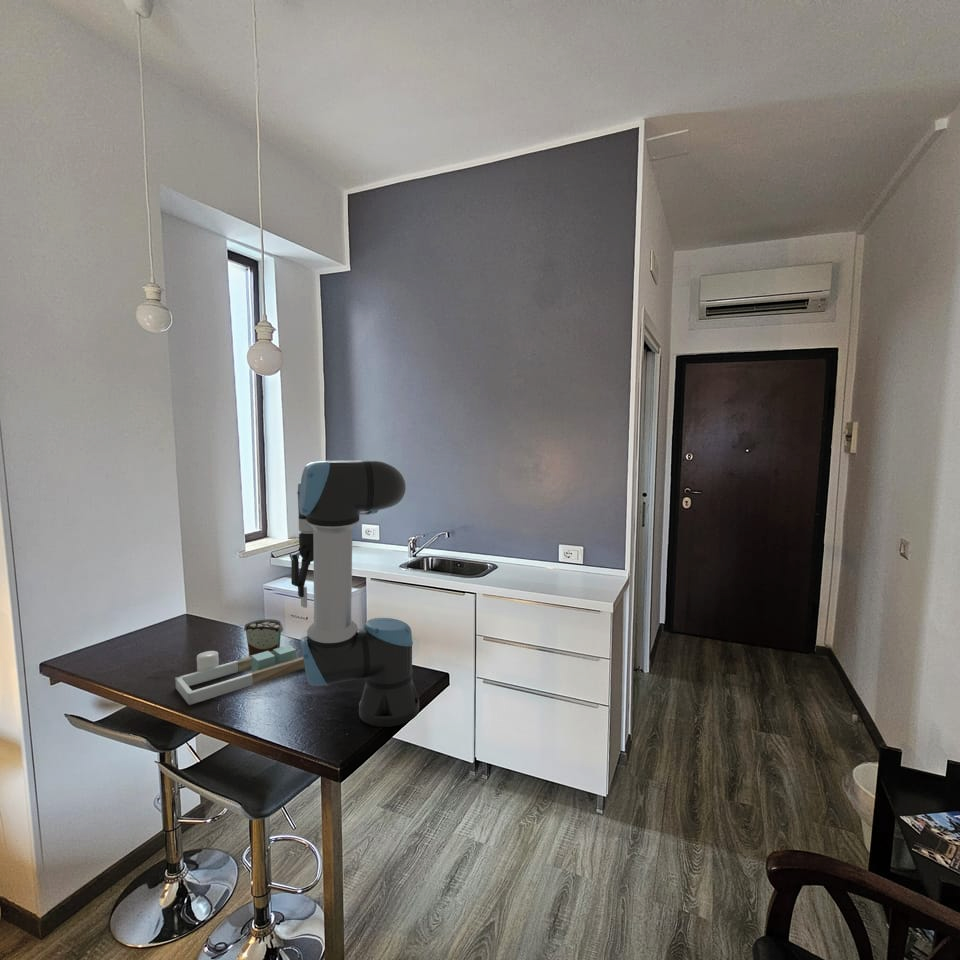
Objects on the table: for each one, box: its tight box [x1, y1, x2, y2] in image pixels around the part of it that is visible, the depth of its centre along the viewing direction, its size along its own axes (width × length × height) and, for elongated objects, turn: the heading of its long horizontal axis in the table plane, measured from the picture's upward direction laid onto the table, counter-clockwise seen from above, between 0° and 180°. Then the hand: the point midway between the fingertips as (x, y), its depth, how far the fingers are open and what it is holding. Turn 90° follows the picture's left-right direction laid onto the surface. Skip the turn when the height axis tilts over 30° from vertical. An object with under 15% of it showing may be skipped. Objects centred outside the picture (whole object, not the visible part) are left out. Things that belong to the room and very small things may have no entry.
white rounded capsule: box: [196, 650, 220, 672], centre depth 155 cm, size 6×6×6 cm
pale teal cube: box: [250, 651, 275, 672], centre depth 157 cm, size 5×5×5 cm
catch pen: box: [174, 660, 254, 706], centre depth 148 cm, size 12×16×3 cm
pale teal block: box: [273, 644, 297, 665], centre depth 162 cm, size 5×5×5 cm
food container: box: [243, 618, 284, 657], centre depth 171 cm, size 12×6×10 cm, turn 84°
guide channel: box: [236, 645, 305, 686], centre depth 159 cm, size 12×17×3 cm
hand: (313, 604), depth 167 cm, fingers open, 5 cm apart
